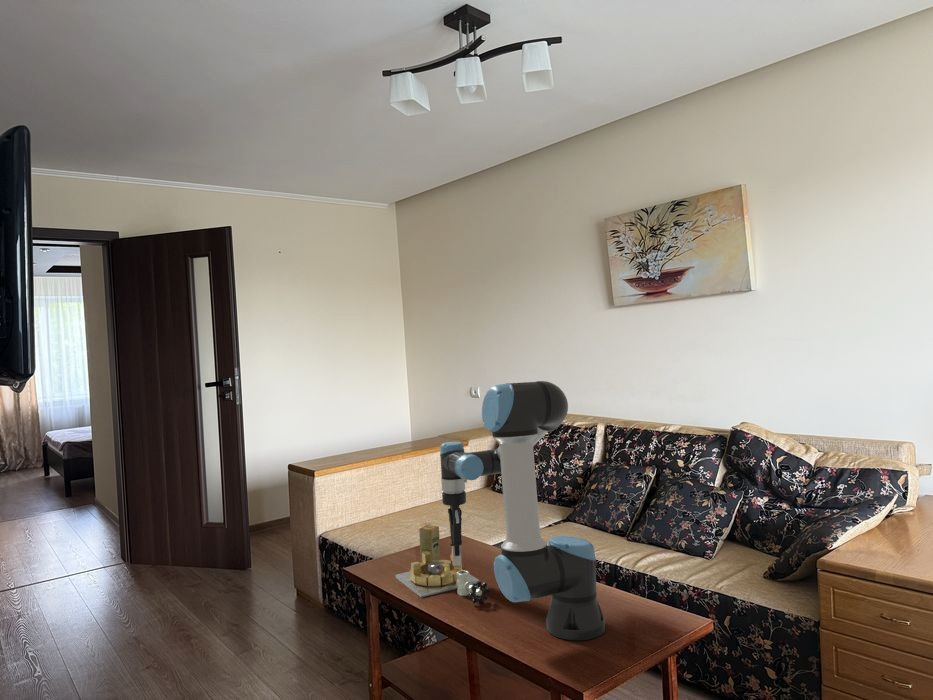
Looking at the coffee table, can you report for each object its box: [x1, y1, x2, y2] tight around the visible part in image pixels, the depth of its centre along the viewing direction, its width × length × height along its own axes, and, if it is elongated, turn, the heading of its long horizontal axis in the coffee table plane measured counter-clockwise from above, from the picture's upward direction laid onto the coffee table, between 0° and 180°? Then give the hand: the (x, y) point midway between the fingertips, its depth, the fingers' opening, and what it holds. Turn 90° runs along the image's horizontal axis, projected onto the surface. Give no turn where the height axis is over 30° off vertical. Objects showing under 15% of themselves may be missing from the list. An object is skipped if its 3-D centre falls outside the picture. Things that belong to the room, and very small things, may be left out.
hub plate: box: [395, 562, 480, 598], centre depth 206 cm, size 20×20×5 cm
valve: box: [456, 569, 490, 605], centre depth 190 cm, size 7×7×12 cm
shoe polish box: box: [418, 524, 441, 563], centre depth 223 cm, size 5×5×12 cm
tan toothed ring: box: [409, 551, 463, 586], centre depth 206 cm, size 16×16×6 cm
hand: (457, 564), depth 204 cm, fingers closed
